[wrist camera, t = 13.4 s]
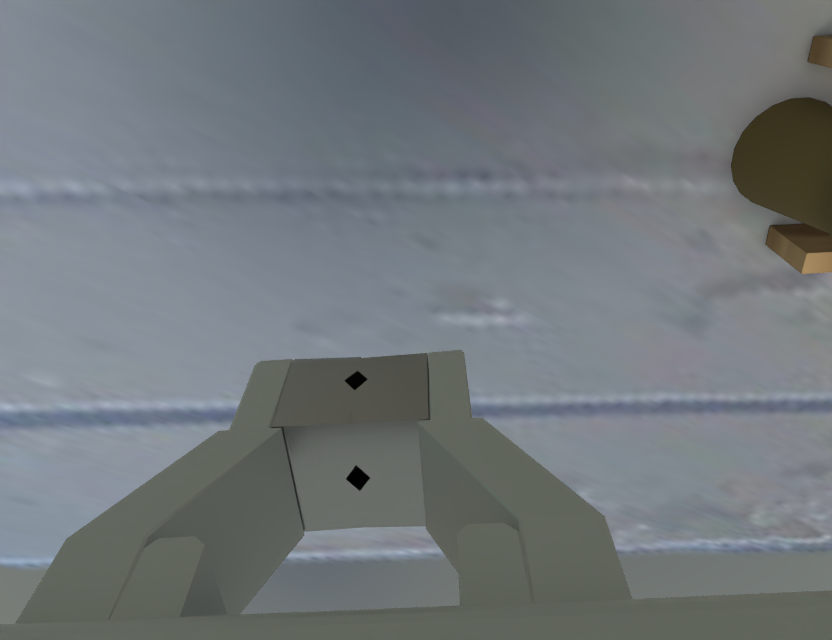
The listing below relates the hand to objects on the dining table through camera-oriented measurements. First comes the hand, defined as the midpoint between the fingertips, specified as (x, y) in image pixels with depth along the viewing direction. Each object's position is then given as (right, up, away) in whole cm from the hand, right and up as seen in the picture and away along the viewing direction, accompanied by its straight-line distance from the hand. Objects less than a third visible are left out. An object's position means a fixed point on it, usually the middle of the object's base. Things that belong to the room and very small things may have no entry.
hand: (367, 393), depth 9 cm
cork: (+21, +10, +26) cm, 35 cm away
